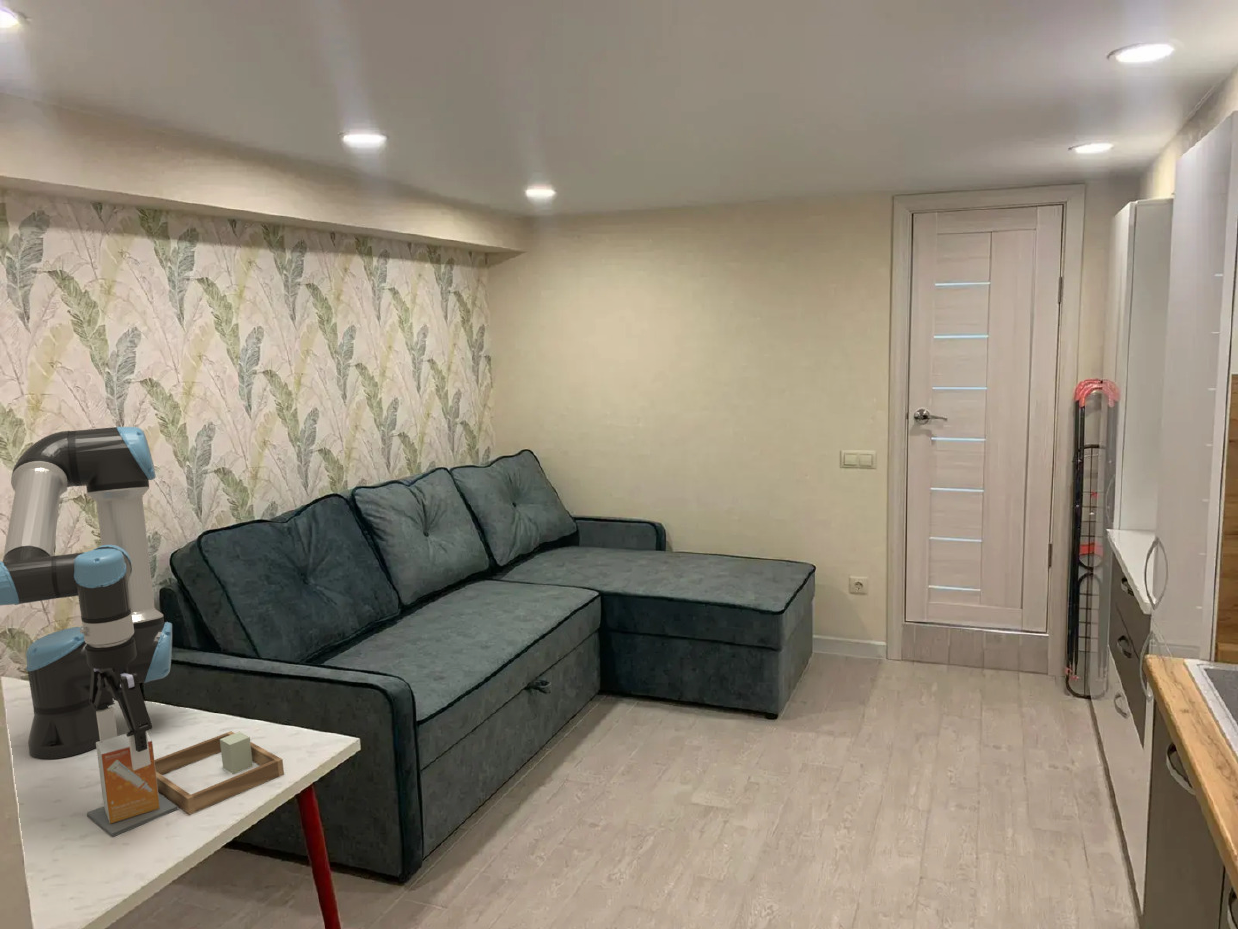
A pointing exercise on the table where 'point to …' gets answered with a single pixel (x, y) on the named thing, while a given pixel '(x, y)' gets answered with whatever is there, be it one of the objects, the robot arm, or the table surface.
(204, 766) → the table surface
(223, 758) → the sage block
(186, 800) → the bin
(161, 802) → the mat
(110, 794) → the small box
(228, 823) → the table surface
